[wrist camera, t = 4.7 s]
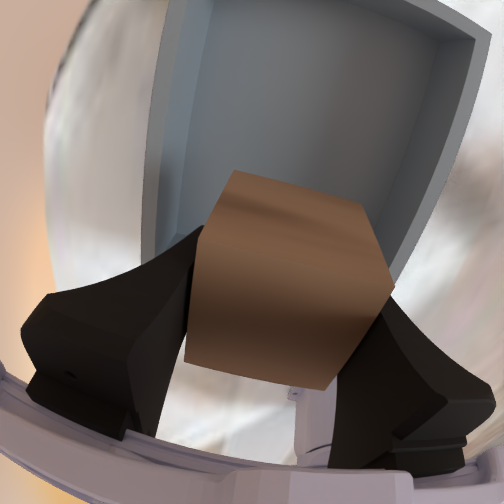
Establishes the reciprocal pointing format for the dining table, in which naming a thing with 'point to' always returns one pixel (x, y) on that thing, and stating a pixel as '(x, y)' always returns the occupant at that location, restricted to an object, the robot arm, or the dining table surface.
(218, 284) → the walnut block
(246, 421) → the dining table surface
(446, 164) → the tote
